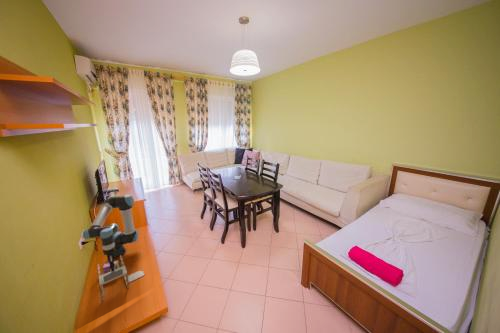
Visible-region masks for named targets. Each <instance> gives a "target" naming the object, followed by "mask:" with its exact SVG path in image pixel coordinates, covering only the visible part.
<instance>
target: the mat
mask: <svg viewBox="0 0 500 333" xmlns="http://www.w3.org/2000/svg"><path fill="white" fill-rule="evenodd" d="M144 276H145V272H144V270H143V271H140V270H137V271H136V272H133V273H131V274H128V281H129V284H130V283H131V282H134V281H136V280H139V279H140V278H143V277H144Z"/></svg>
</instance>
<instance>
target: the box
mask: <svg viewBox="0 0 500 333" xmlns="http://www.w3.org/2000/svg"><path fill="white" fill-rule="evenodd" d="M113 261H114V264H115V265H114V266H115V269H118V268H119V267H120V264H119V260H113ZM109 268H110V264H109V262H108V263H104V264H103V267H102V270H103V271H102V274H106V273H108V272H111V270H110V269H109Z"/></svg>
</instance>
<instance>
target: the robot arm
mask: <svg viewBox="0 0 500 333" xmlns="http://www.w3.org/2000/svg"><path fill="white" fill-rule="evenodd" d="M134 200H135V199H134V197H133V196H132V195H130V194H127V195H126V194H125V195H117V196H115V195H114V196H111V197H108V198H107V199H105V201H104V202H102V203H101V205H100V206H99V211H98V212H97V215H96V216H95V218H94V220H93V222H92V223H91V225H90V226H89V228H87V229H84V230H83V231H82V238H83V239H84V240H89V239H94V238H95V239H96V238H100V241H101V245H102V246H101V248H102V253H103V256H106V257H107V262H108V263H109V264H110V268H109V269H110V270H111V273H113V272H115V266H114V265H115V264H114V261H115V260H114V259H118V258H120V256H122V257H123V256H124V255H125V254H126V252H127V249H126V247H125V245H127V244H132V243H136V242H137V241H138V239H139V234H140V232H139V231H140V230H137V228H135V225H134V219H133V214H132V213H133V212H132V209H133V207H134V206H135V205H134V204H135V201H134ZM113 209H118V211H120V213H121V218H122V224H123V229H124V231H123V232H122V231H119V230H120V226H119V224H117V223H115V222H114V223H110V224H109V225H107V226H104V224H105V222H106V220H107V218H108V216H109V214H110V212H111V211H112V210H113Z"/></svg>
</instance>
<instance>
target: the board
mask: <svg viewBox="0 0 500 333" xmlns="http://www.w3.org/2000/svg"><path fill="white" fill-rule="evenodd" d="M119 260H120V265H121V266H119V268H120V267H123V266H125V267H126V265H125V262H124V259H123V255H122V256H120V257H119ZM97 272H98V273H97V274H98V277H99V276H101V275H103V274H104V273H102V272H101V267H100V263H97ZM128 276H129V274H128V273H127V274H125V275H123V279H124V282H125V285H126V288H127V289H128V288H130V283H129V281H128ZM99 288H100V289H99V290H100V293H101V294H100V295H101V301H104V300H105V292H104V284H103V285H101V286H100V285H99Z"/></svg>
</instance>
